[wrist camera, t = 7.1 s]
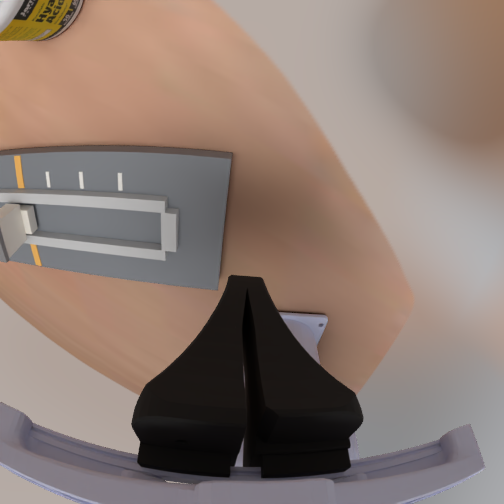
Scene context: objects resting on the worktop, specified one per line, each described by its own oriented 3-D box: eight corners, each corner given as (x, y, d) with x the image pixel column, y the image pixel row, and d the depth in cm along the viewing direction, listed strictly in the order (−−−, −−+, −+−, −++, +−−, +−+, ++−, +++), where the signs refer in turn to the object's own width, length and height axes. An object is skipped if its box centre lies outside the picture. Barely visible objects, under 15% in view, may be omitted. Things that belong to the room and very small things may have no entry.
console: (219, 277, 24) (217, 297, 22) (5, 249, 22) (-8, 262, 20) (232, 152, 18) (230, 162, 16) (-15, 152, 16) (-32, 162, 14)
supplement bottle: (81, 33, 13) (-22, 28, 5) (24, 47, 12) (-74, 61, 4) (93, -32, 10) (6, -69, 2) (34, -13, 10) (-56, -24, 1)
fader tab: (39, 234, 19) (12, 263, 16) (14, 231, 19) (-13, 258, 15) (31, 198, 17) (1, 224, 14) (6, 197, 17) (-24, 222, 14)
